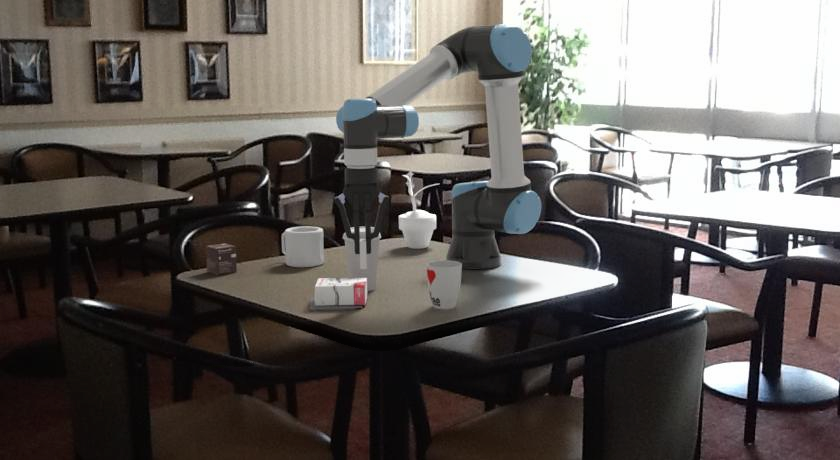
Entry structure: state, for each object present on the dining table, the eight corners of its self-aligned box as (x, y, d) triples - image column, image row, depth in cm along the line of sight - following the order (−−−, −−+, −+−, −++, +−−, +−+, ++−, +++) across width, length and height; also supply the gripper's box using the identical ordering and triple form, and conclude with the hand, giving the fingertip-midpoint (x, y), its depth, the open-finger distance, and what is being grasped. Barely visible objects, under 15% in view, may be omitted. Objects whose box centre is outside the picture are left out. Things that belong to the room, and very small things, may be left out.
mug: (331, 262, 274) (330, 227, 272) (307, 269, 265) (306, 233, 263) (294, 258, 281) (293, 224, 279) (270, 264, 272) (268, 229, 270)
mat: (361, 297, 231) (361, 296, 231) (362, 308, 220) (362, 307, 220) (311, 298, 230) (311, 297, 230) (309, 310, 219) (309, 309, 219)
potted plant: (395, 250, 290) (394, 167, 286) (402, 243, 302) (401, 163, 297) (437, 251, 288) (436, 167, 284) (442, 244, 299) (441, 163, 295)
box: (217, 275, 258) (216, 248, 257) (206, 272, 263) (205, 245, 261) (237, 272, 262) (236, 245, 261) (226, 269, 267) (224, 243, 265)
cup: (425, 303, 225) (424, 260, 223) (459, 301, 225) (459, 259, 224) (428, 311, 217) (428, 268, 215) (464, 310, 217) (464, 266, 216)
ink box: (365, 285, 221) (313, 286, 221) (365, 306, 222) (314, 306, 222) (367, 276, 229) (317, 277, 229) (367, 296, 230) (317, 297, 230)
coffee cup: (353, 294, 234) (351, 233, 232) (338, 287, 242) (336, 228, 240) (388, 290, 238) (387, 230, 236) (372, 282, 247) (371, 224, 244)
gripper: (388, 164, 225) (390, 263, 228) (332, 165, 224) (335, 265, 228) (390, 167, 217) (392, 270, 221) (332, 168, 216) (335, 271, 220)
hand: (363, 267), depth 224 cm, fingers closed
